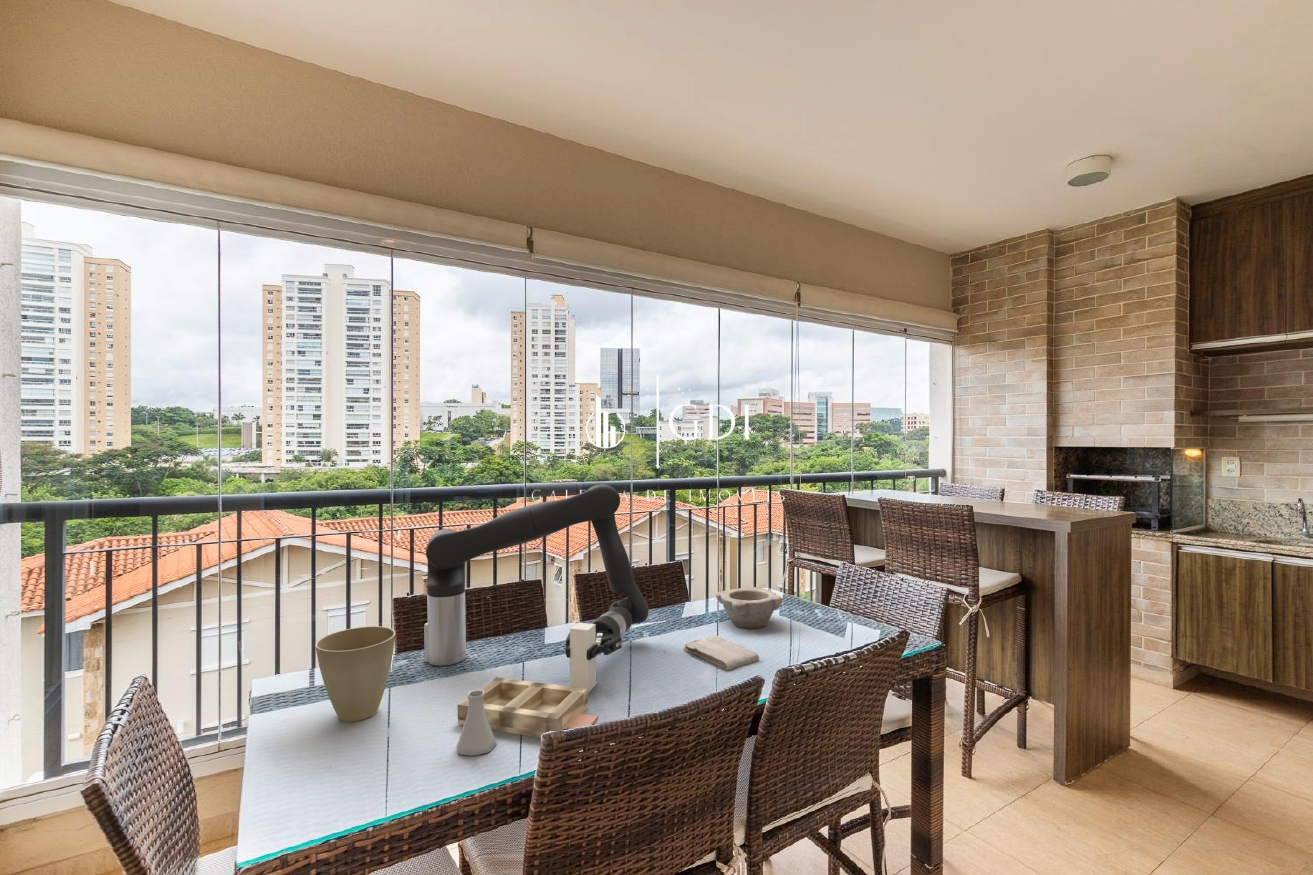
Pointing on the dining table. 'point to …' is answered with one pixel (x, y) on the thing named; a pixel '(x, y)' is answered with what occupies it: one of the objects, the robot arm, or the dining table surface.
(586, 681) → the plug peg
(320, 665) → the plant pot
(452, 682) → the dining table surface
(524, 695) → the socket block
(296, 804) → the dining table surface
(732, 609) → the mortar
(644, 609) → the robot arm
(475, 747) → the flask
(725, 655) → the washcloth
